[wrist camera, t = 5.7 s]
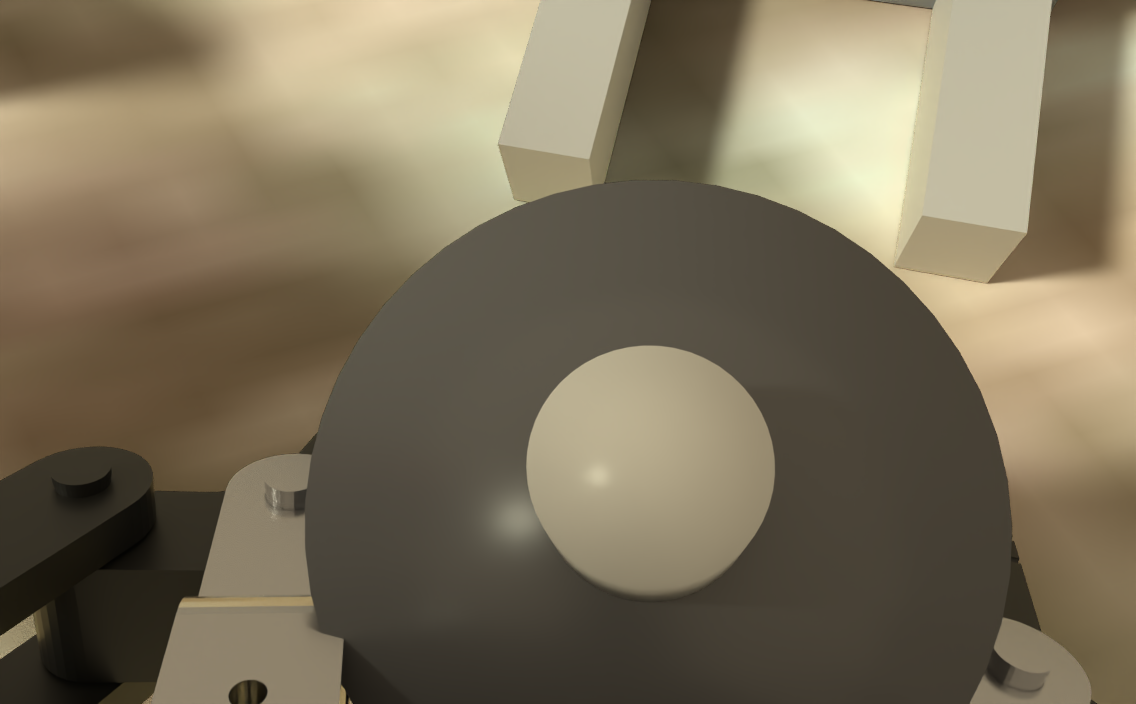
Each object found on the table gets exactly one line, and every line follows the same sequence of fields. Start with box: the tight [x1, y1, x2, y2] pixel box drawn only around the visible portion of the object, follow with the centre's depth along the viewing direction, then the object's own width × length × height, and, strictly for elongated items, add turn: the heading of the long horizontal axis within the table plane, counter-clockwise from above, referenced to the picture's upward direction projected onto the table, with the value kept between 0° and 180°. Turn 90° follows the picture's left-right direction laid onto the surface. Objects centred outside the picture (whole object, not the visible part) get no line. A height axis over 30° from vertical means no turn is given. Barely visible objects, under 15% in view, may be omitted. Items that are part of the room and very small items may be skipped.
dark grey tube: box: [305, 180, 1012, 704], centre depth 12 cm, size 5×5×11 cm
